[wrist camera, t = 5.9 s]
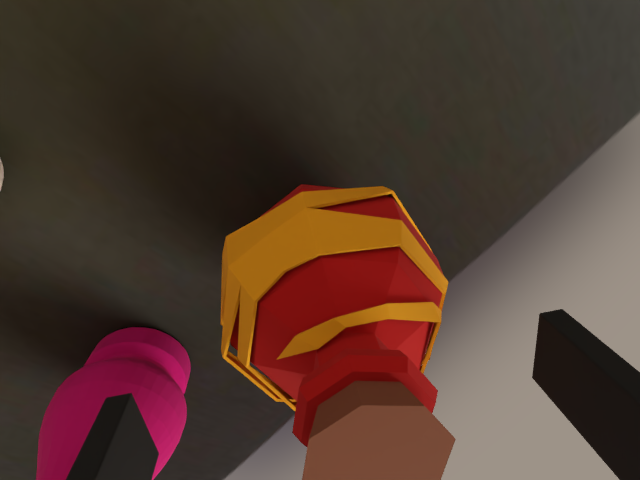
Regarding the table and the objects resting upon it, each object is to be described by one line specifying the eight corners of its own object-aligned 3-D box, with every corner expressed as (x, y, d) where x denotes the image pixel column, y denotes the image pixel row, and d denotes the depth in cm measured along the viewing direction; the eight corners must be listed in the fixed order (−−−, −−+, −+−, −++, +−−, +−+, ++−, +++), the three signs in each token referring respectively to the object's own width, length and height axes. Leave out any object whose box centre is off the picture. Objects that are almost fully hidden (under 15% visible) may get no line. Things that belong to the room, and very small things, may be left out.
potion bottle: (381, 127, 22) (569, 229, 8) (411, 282, 26) (566, 521, 12) (200, 180, 22) (77, 372, 8) (259, 326, 26) (246, 612, 12)
